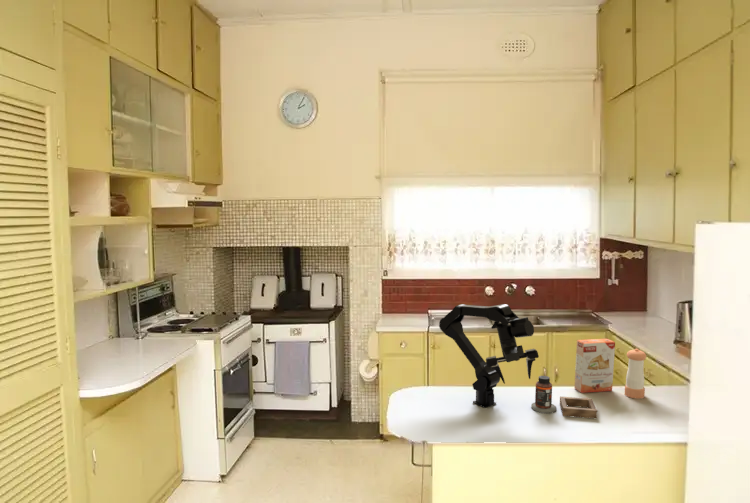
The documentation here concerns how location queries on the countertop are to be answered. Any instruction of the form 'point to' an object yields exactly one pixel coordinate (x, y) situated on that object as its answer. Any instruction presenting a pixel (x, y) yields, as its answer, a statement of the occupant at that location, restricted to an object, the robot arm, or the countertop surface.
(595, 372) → the cracker box
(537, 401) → the supplement bottle
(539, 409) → the grey round disc
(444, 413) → the countertop surface
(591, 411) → the walnut holder
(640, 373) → the pepper shaker
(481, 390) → the robot arm
